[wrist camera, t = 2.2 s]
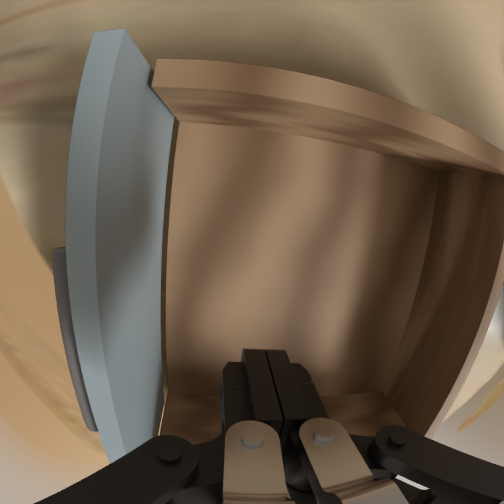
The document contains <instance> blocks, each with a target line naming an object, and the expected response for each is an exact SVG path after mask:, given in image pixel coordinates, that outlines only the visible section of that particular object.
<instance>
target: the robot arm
mask: <svg viewBox="0 0 504 504" xmlns="http://www.w3.org/2000/svg"><path fill="white" fill-rule="evenodd" d="M220 420H221V422H220V423H221V434H220V435H219V436H218V437H217V438H215V439H213V440H211V441H208V442H205V443H200V444H194V445H192V444H191V443H190V442H189V441H187V440H186V439H184V438H181V437H178V436H174V435H160V436H156V437H153V438H151V439H149V440H148V441H146V442H145V443H143V444H142V445H140V446H139V447H137V448H135V449H134V450H132V451H131V452H129V453H127V454H126V455H124V456H122V457H121V458H119V459H118V460H116V461H114V462H113V463H111V464H109V465H108V466H106V467H104V468H102V469H101V470H99V471H97V472H96V473H94V474H92V475H90V476H88V477H86V478H84V479H83V480H81V481H79V482H77V483H75V484H73V485H71V486H69V487H68V488H66V489H64V490H62V491H60V492H58V493H56V494H54V495H52V496H49V497H47V498H45V499H43V500H41V501H39V502H37V503H34V504H504V467H502V466H499V465H496V464H493V463H490V462H487V461H485V460H481V459H479V458H476V457H474V456H471V455H468V454H466V453H463V452H461V451H458V450H455V449H453V448H451V447H448V446H445V445H443V444H441V443H438V442H436V441H434V440H431V439H429V438H427V437H424V436H422V435H420V434H418V433H415V432H413V431H411V430H409V429H407V428H404V427H402V426H397V425H388V426H385V427H382V428H381V429H379V431H378V432H377V433H376V435H375V437H374V436H361V435H353V434H348V433H347V431H346V429H345V428H344V427H343V426H342V425H341V424H339V423H338V422H336V421H334V420H331V419H329V417H328V414H327V412H326V410H325V408H324V405H323V403H322V401H321V399H320V396H319V394H318V392H317V391H316V388H315V385H314V383H312V379H311V376H310V374H309V372H308V371H307V370H306V369H305V368H304V367H303V366H302V365H301V364H299V363H290V360H289V357H288V355H287V352H286V350H276V349H265V350H264V349H246V348H243V350H242V356H241V362H230V361H228V362H227V364H226V365H225V367H224V368H223V370H222V381H221V392H220ZM397 475H400V476H402V477H405V478H407V479H409V480H411V481H413V482H416V483H418V484H420V485H423V486H425V487H427V488H430V489H427V490H421V489H418V488H416V487H414V486H411V485H409V484H407V483H405V482H403V481H401V480H398V479H396V478H395V477H396V476H397Z"/></svg>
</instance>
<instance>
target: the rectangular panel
mask: <svg viewBox="0 0 504 504" xmlns="http://www.w3.org/2000/svg"><path fill="white" fill-rule="evenodd" d="M153 76H154V71H153V70H152V68H151V67H150V65H149V64H148V62H147V61H146V59H145V58H144V56H143V55H142V53H141V52H140V50H139V49H138V47H137V46H136V44H135V43H134V41H133V40H132V38H131V37H130V35H129V34H128V32H127V31H126V29H125V28H124V29H115V30H106V31H99V32H94V34H93V37H92V41H91V44H90V47H89V51H88V54H87V58H86V62H85V66H84V70H83V74H82V78H81V83H80V87H79V92H78V97H77V102H76V108H75V113H74V119H73V126H72V133H71V141H70V149H69V159H68V170H67V185H66V213H65V232H66V247H60V248H56V249H54V250H52V261H53V274H54V284H55V293H56V300H57V308H58V315H59V321H60V327H61V333H62V338H63V343H64V348H65V353H66V357H67V362H68V366H69V370H70V374H71V378H72V382H73V386H74V389H75V393H76V396H77V400H78V403H79V406H80V409H81V412H82V415H83V418H84V421H85V424H86V427H87V428H88V429H89V430H91V431H98V432H99V435H100V437H101V440H102V443H103V446H104V449H105V451H106V454H107V457H108V459H109V462H110V464H111V463H113V462H114V461H116V460H118V459H119V458H121V457H122V456H124V455H126V454H127V453H129V452H131V451H132V450H134V449H135V448H137V447H139V446H140V445H142V444H143V443H145V442H146V441H148V440H149V439H151V438H153V437H156V436H158V432H159V427H160V422H161V416H162V411H163V406H164V393H163V377H162V355H161V259H162V236H163V220H164V206H165V193H166V182H167V172H168V163H169V154H170V145H171V137H172V130H173V123H174V115H173V113H172V112H171V111H170V110H169V108H168V107H167V106H166V105H165V103H164V102H163V101H162V100H161V98H160V97H159V96H158V95H157V93H156V92H155V91H154V90H153V89H152V87H151V86H152V81H153Z"/></svg>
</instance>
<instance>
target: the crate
mask: <svg viewBox="0 0 504 504" xmlns="http://www.w3.org/2000/svg"><path fill="white" fill-rule="evenodd" d="M151 87H152V89H153V90H154V91H155V92H156V93H157V95H158V96H159V97H160V98H161V100H162V101H163V102H164V103H165V105H166V106H167V107H168V108H169V110H170V111H171V112H172V113H173V115H174V116H175V117H176V118H177V120H178V121H179V128H178V136H177V143H176V152H175V160H174V169H173V179H172V190H171V201H170V214H169V229H168V247H167V270H166V364H167V387H168V394H167V399H166V404H165V409H164V415H163V419H162V425H161V431H160V435H174V436H178V437H181V438H184V439H186V440H187V441H189V442H190V443H191V444H192V445H194V444H200V443H205V442H208V441H211V440H213V439H215V438H217V437H218V436H219V435H220V434H221V423H220V422H221V420H220V392H221V381H222V370H223V368H224V367H225V365H226V364H227V362H228V361H230V362H241V356H242V350H243V348H246V349H264V350H265V349H276V350H286V352H287V355H288V357H289V360H290V363H299V364H301V365H302V366H303V367H304V368H305V369H306V370H307V371H308V372H309V374H310V376H311V379H312V383H314V385H315V388H316V391H317V392H318V394H319V396H320V399H321V401H322V403H323V405H324V408H325V410H326V412H327V414H328V417H329V419H331V420H334V421H336V422H338V423H339V424H341V425H342V426H343V427H344V428H345V429H346V431H347V433H348V434H353V435H361V436H374V437H375V435H376V433H377V432H378V431H379V429H381V428H382V427H385V426H388V425H397V426H402V427H404V428H407V429H409V430H411V431H413V432H415V433H418V434H420V435H422V436H424V437H427V438H429V439H431V438H432V437H433V435H434V434H435V432H436V430H437V429H438V427H439V426H440V424H441V423H442V421H443V420H444V418H445V416H446V415H447V413H448V411H449V410H450V408H451V406H452V404H453V403H454V401H455V399H456V397H457V395H458V393H459V392H460V390H461V388H462V386H463V384H464V382H465V380H466V378H467V376H468V374H469V372H470V370H471V368H472V366H473V363H474V361H475V359H476V357H477V355H478V352H479V350H480V348H481V345H482V343H483V340H484V338H485V335H486V333H487V330H488V328H489V325H490V322H491V319H492V317H493V314H494V311H495V308H496V305H497V302H498V299H499V295H500V292H501V289H502V285H503V282H504V152H503V151H502V150H500V149H498V148H497V147H495V146H493V145H492V144H490V143H488V142H486V141H485V140H483V139H481V138H479V137H477V136H476V135H474V134H472V133H470V132H468V131H466V130H464V129H462V128H460V127H458V126H456V125H454V124H452V123H450V122H448V121H446V120H443V119H441V118H439V117H437V116H435V115H432V114H430V113H428V112H425V111H423V110H421V109H418V108H416V107H413V106H411V105H408V104H405V103H403V102H400V101H398V100H395V99H392V98H389V97H386V96H383V95H381V94H378V93H375V92H371V91H368V90H365V89H362V88H359V87H355V86H352V85H348V84H345V83H341V82H337V81H334V80H330V79H326V78H321V77H317V76H313V75H308V74H304V73H299V72H294V71H289V70H283V69H277V68H271V67H265V66H258V65H251V64H243V63H234V62H224V61H211V60H195V59H157V61H156V66H155V71H154V76H153V81H152V86H151ZM160 435H159V436H160Z"/></svg>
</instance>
